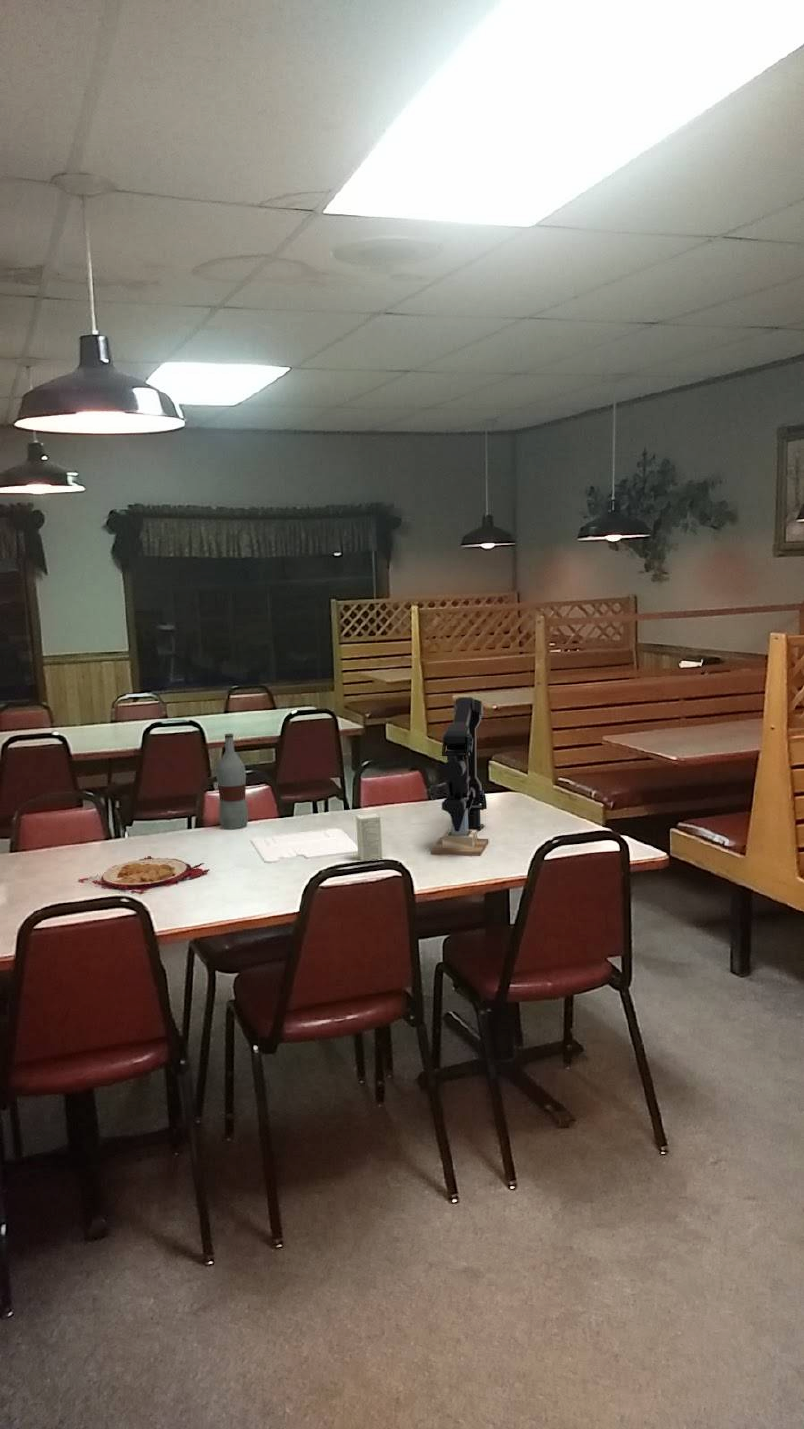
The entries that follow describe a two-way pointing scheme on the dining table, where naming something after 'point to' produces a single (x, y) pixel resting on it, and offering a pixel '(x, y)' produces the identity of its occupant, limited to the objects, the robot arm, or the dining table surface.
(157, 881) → the plate with food
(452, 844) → the socket block
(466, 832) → the peg
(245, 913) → the dining table surface
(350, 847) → the tray
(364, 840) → the skincare box
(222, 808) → the bottle
